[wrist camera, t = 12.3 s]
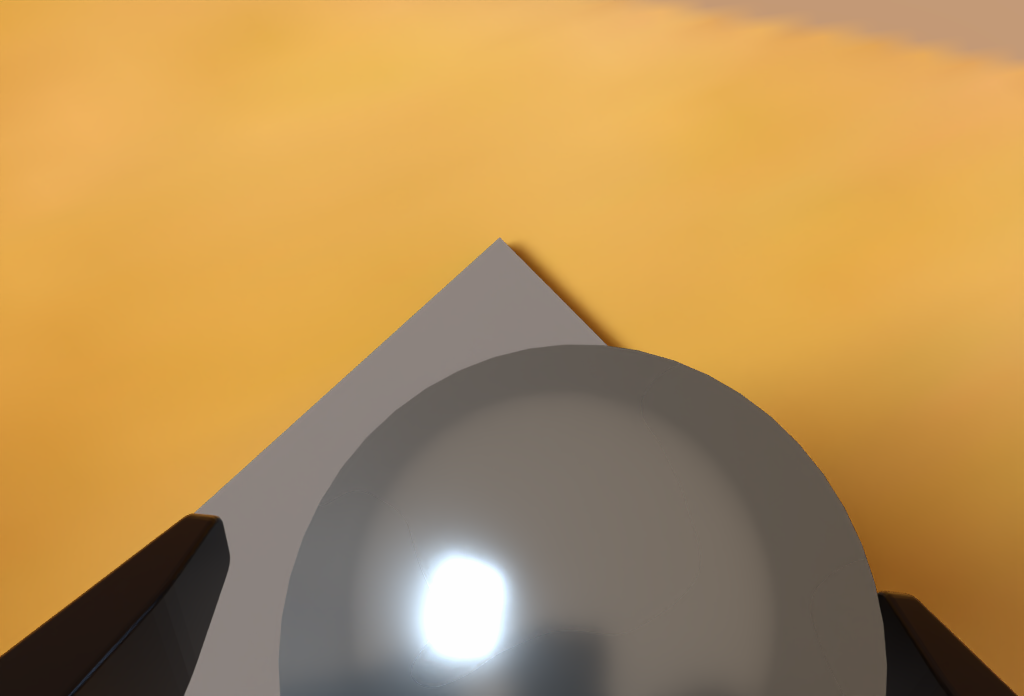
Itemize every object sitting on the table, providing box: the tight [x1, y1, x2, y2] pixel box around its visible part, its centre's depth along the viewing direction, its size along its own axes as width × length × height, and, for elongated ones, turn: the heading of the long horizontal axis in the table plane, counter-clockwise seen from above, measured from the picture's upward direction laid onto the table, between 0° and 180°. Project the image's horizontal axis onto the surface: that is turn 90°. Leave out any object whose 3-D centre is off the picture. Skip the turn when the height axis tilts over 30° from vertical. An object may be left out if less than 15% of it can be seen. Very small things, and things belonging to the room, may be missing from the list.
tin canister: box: [278, 344, 887, 696], centre depth 11 cm, size 4×4×13 cm
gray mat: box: [184, 238, 607, 696], centre depth 18 cm, size 14×14×1 cm
